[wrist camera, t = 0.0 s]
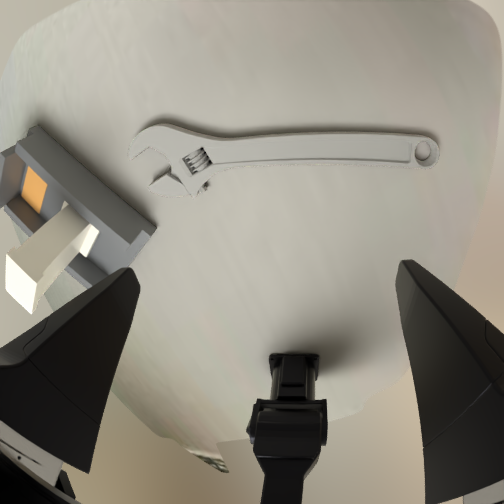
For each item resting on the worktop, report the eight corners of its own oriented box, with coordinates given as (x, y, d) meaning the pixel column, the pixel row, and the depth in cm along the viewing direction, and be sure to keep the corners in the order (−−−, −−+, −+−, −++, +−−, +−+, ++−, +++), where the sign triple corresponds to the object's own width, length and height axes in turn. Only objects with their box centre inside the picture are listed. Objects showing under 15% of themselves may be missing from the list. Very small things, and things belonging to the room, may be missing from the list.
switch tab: (105, 221, 25) (43, 289, 16) (88, 255, 27) (37, 319, 19) (70, 190, 23) (1, 248, 15) (57, 228, 26) (1, 285, 18)
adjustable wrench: (433, 134, 18) (443, 139, 17) (421, 203, 22) (428, 212, 20) (135, 126, 21) (124, 131, 20) (146, 193, 25) (138, 201, 23)
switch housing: (157, 228, 26) (131, 262, 22) (119, 279, 31) (97, 311, 27) (38, 125, 21) (1, 141, 16) (20, 190, 26) (-9, 211, 21)
